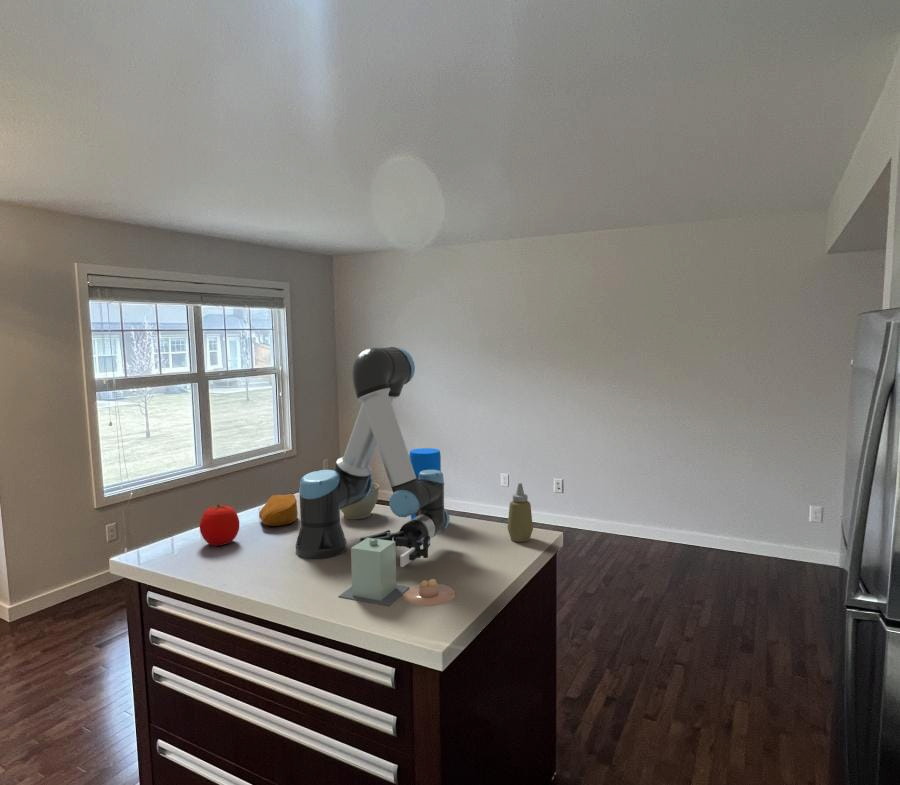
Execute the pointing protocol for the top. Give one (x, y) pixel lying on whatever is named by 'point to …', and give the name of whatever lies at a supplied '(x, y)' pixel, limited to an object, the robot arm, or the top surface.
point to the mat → (386, 601)
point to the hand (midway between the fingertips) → (377, 557)
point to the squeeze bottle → (520, 517)
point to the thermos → (424, 462)
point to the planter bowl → (362, 505)
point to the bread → (279, 510)
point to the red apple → (219, 525)
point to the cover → (373, 568)
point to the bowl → (429, 593)
